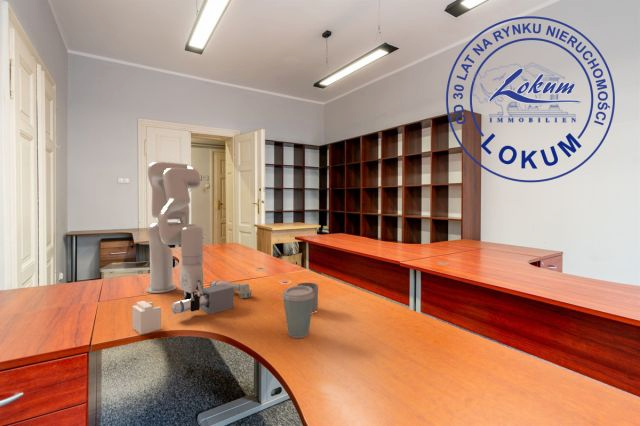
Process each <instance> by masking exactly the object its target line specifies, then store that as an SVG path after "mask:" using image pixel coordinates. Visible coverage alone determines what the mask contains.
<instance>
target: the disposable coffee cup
mask: <svg viewBox="0 0 640 426" xmlns="http://www.w3.org/2000/svg"><path fill="white" fill-rule="evenodd" d="M281 297H282V299H283V300H282V301H283V307H284V312H285V320H286V326H287V333H288V335H289V337H291V338H294V339H302V338H306V337H307V336H308V335H309V332H310V327H311V320H312V314H311V313H312V306H313V299H314V292H313V290H312V288H311V287H308V286H302V285H299V286H297V285H293V286H289V287H287V288H286V289H284V290H283V292H282V293H281Z"/></svg>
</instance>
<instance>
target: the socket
mask: <svg viewBox="0 0 640 426" xmlns="http://www.w3.org/2000/svg"><path fill="white" fill-rule="evenodd" d="M161 329H162V306H156V307H154V301H149V302H147V301H145V300H141V301H136V304H135V305H132V330H135V331H136V332H137V333H139V335H145V334H148V333H151V332H155V331H159V330H161Z"/></svg>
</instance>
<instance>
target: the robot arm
mask: <svg viewBox="0 0 640 426" xmlns="http://www.w3.org/2000/svg"><path fill="white" fill-rule="evenodd" d="M147 178H148V181H149V184H150V186H151V215H152V217H153V219H155V220H158V221H157V222H153V223H150V225H148V227H147V237H148V245H149V286H147V287H146V288H145V291H146V292H147V293H151V294H163V293H168V292H172V291H174V290H176V289H177V285H176V284H174V283H173V282H174V281H173V280H174V279H173V278H174V277H173V273H174V272H173V270H174V269H173V266H174V265H173V264H174V263H173V262H174V260H173V257H174V256H173V254H174V253H173V250H172V248H171V247H170V246H172V245H180V268H179V279H178V281H179V283H178V284H179V285H178V286H179V289H180V290H182V291H183V297H184V300H187V299H191V298H192V301H191V310H190V312H192V313H193V312H197V311H200V310H201V307H200V297H201V296H202V295H203V291H202V290H203V288H204V270H203V269H204V268H203V264H204V229H203V228H202V227H201V226H199V225H197V224H195V223H190V205H189V204H190V203H191V198H190V197H191V196H190V193H189V190H188V189H191V190H192V189H193V190H196V189H199V187H200V185H201V176H200V173H199V171H198V170H197V169H196V168H194V167H193V166H192V165H191V164H190V165H189V164H186V163H176V162H165V161H154V162H151V163H150V164H149V165H148V167H147ZM168 220H177V221H171V222H170V221H168Z"/></svg>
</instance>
